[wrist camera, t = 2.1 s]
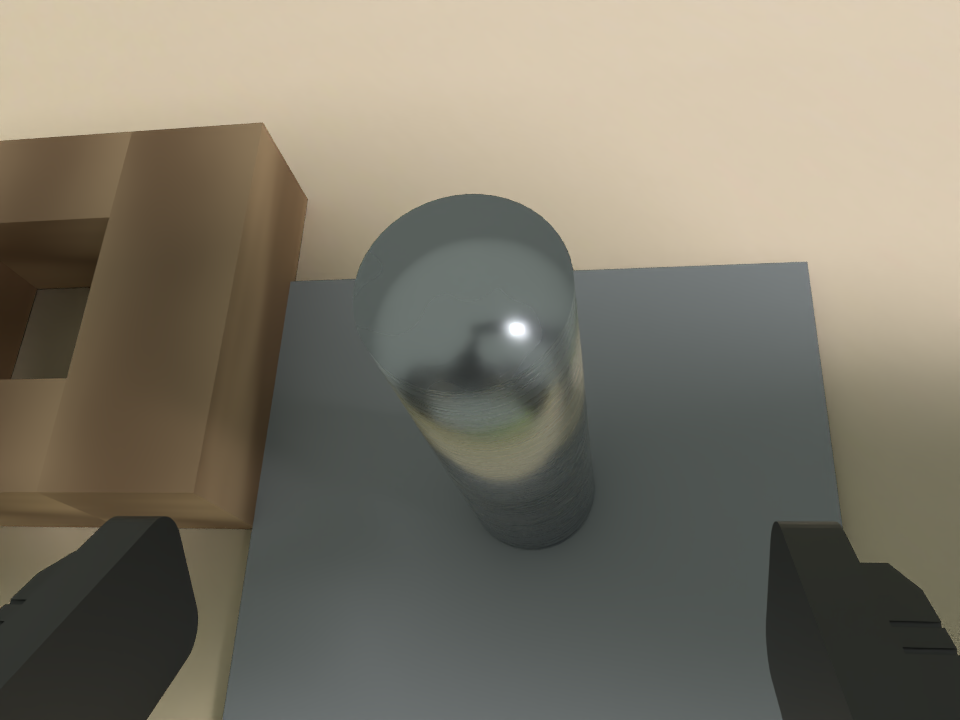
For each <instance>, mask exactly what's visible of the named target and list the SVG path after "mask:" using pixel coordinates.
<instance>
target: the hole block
mask: <svg viewBox="0 0 960 720" xmlns="http://www.w3.org/2000/svg"><path fill="white" fill-rule="evenodd" d="M307 201H308V199H307V197H306V196H305V194H304V192H303V191H302V189H301V187H300V185H299V184H298V182H297V180H296V178H295V177H294V175H293V173H292V172H291V170H290V168H289V166H288V165H287V163H286V161H285V160H284V158H283V156H282V154H281V153H280V151H279V149H278V148H277V146H276V144H275V142H274V141H273V139H272V137H271V136H270V134H269V132H268V130H267V129H266V127H265V125H264V124H263V123H250V124H235V125H221V126H207V127H192V128H178V129H164V130H149V131H135V132H121V133H106V134H92V135H78V136H63V137H49V138H35V139H20V140H6V141H0V526H28V527H101V526H102V525H103V524H104V523H105V522H107V521H108V520H109V519H110V518H112V517H115V516H167V517H170V518H171V519H172V520H174V522H175V523H176V525H177V527H178V528H214V529H252V527H253V520H254V514H255V508H256V501H257V495H258V488H259V482H260V475H261V469H262V463H263V456H264V450H265V443H266V437H267V430H268V424H269V418H270V411H271V405H272V398H273V392H274V385H275V379H276V372H277V366H278V360H279V353H280V347H281V340H282V334H283V327H284V321H285V315H286V308H287V302H288V295H289V289H290V282H291V281H295V279H296V273H297V266H298V260H299V253H300V246H301V240H302V233H303V227H304V220H305V214H306V207H307ZM75 287H91V288H90V292H89V296H88V299H87V303H86V307H85V311H84V314H83V318H82V322H81V326H80V329H79V333H78V337H77V341H76V344H75V348H74V352H73V356H72V360H71V363H70V367H69V371H68V375H67V378H53V379H11V376H12V372H13V369H14V366H15V362H16V359H17V356H18V352H19V349H20V345H21V342H22V339H23V335H24V332H25V328H26V325H27V322H28V318H29V315H30V312H31V308H32V305H33V301H34V298H35V295H36V291H37V289H49V288H75Z"/></svg>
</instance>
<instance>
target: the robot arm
mask: <svg viewBox="0 0 960 720" xmlns="http://www.w3.org/2000/svg"><path fill="white" fill-rule="evenodd" d="M197 626H198V612H197V606H196V602H195V597H194V593H193V589H192V584H191V580H190V576H189V571H188V567H187V563H186V558H185V554H184V550H183V546H182V541H181V537H180V533H179V530H178V527H177V525H176V523H175V522H174V520H172V519H171V518H170V517H167V516H115V517H112V518H110V519H109V520H108V521H107V522H105V523H104V524H103V525H102V526H101V527H100V528H99V529H98V530H97V531H96V532H95V533H94V534H93V535H92V536H91V537H90V538H89V539H88V540H87V541H86V542H85V543H84V544H83V545H82V546H81V547H80V548H79V549H78V550H77V551H74V552H73V553H71V554H69V555H68V556H66V557H64V558H63V559H61V560H59V561H58V562H56V563H54V564H53V565H51V566H49V567H48V568H46V569H44V570H43V571H41V572H39V573H38V574H36V575H35V576H34V577H33V578H32V579H31V580H30V581H29V582H28V583H27V584H26V585H25V586H24V587H23V588H22V589H21V590H20V591H19V592H18V593H17V594H15V595H14V596H13V597H12V598H11V602H10V604H5V605H4V606H3V607H2V608H1V609H0V720H147V718H148V717H149V715H150V714H151V712H152V711H153V709H154V708H155V706H156V705H157V703H158V702H159V700H160V699H161V697H162V696H163V694H164V693H165V691H166V690H167V688H168V687H169V685H170V684H171V682H172V681H173V679H174V678H175V676H176V675H177V673H178V672H179V670H180V669H181V667H182V666H183V664H184V663H185V661H186V660H187V658H188V656H189V655H190V653H191V650H192V648H193V645H194V642H195V638H196V634H197ZM766 646H767V656H768V663H769V669H770V674H771V678H772V682H773V686H774V689H775V693H776V697H777V700H778V704H779V708H780V711H781V715H782V719H783V720H960V655H957V648H956V646H955V645H954V643H953V641H952V640H951V638H950V636H949V634H948V633H947V631H946V629H945V628H942V627H941V621H940V619H939V618H938V616H937V614H936V612H935V611H934V609H933V607H932V606H931V604H930V602H929V601H928V599H927V597H926V596H925V594H924V592H923V590H921V589H920V588H919V587H918V586H916V585H915V584H914V583H913V582H911V581H910V580H909V579H907V578H906V577H905V576H904V575H902V574H901V573H900V572H899V571H897V570H896V569H895V568H893V567H892V566H891V565H890V564H888V563H860V562H859V560H858V558H857V556H856V554H855V552H854V550H853V548H852V546H851V544H850V542H849V540H848V538H847V536H846V534H845V532H844V530H843V528H842V527H841V525H840V524H839V523H838V522H836V521H775V522H774V523H773V526H772V531H771V540H770V558H769V576H768V593H767V611H766Z"/></svg>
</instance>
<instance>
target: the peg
mask: <svg viewBox="0 0 960 720" xmlns="http://www.w3.org/2000/svg"><path fill="white" fill-rule="evenodd" d="M353 313H354V319H355V323H356V327H357V330H358V333H359V335H360V338H361V340H362V342H363V344H364V345H365V347H366V348H367V350H368V352H369V353H370V355H371V356H372V358H373V359H374V361H375V362H376V364H377V365H378V367H379V369H380V370H381V372H382V373H383V375H384V376H385V378H386V379H387V381H388V382H389V384H390V385H391V387H392V388H393V390H394V391H395V393H396V394H397V396H398V397H399V399H400V401H401V402H402V404H403V405H404V407H405V408H406V410H407V411H408V413H409V414H410V416H411V417H412V419H413V420H414V422H415V423H416V425H417V426H418V428H419V430H420V431H421V433H422V434H423V436H424V437H425V439H426V440H427V442H428V443H429V445H430V446H431V448H432V449H433V451H434V452H435V454H436V455H437V457H438V459H439V460H440V462H441V463H442V465H443V466H444V468H445V469H446V471H447V472H448V474H449V475H450V477H451V478H452V480H453V481H454V483H455V484H456V486H457V488H458V489H459V491H460V492H461V494H462V495H463V497H464V498H465V500H466V501H467V503H468V504H469V506H470V507H471V509H472V510H473V512H474V513H475V515H476V517H477V518H478V520H479V521H480V523H481V524H482V526H483V527H484V528H485V529H486V530H487V532H489V533H490V534H491V535H492V536H493V537H494V538H496V539H497V540H498V541H500V542H502V543H504V544H506V545H508V546H511V547H514V548H517V549H522V550H542V549H547V548H550V547H553V546H556V545H558V544H560V543H563V542H564V541H566V540H567V539H569V538H570V537H571V536H573V535H574V534H575V533H576V532H577V531H578V530H579V529H580V528H581V527H582V525H583V524H584V522H585V521H586V519H587V517H588V515H589V513H590V511H591V508H592V505H593V501H594V494H595V484H594V473H593V463H592V453H591V443H590V433H589V423H588V413H587V403H586V393H585V383H584V373H583V363H582V353H581V343H580V333H579V323H578V313H577V303H576V293H575V283H574V273H573V267H572V263H571V259H570V256H569V253H568V251H567V248H566V246H565V244H564V243H563V241H562V239H561V238H560V236H559V235H558V233H557V232H556V231H555V230H554V228H553V227H552V226H551V225H550V224H549V223H548V222H547V221H546V220H545V219H544V218H543V217H541V216H540V215H538V214H537V213H536V212H534V211H533V210H531V209H529V208H528V207H526V206H524V205H522V204H520V203H517V202H514V201H512V200H509V199H506V198H501V197H497V196H492V195H483V194H465V195H455V196H450V197H445V198H441V199H437V200H434V201H431V202H428V203H426V204H424V205H421V206H419V207H417V208H415V209H413V210H411V211H410V212H408V213H406V214H405V215H403V216H401V217H400V218H399V219H398V220H396V221H395V222H394V223H392V224H391V225H390V226H389V227H388V228H387V229H386V230H385V231H384V232H383V233H381V235H380V236H379V237H378V238H377V239H376V241H375V242H374V243H373V244H372V246H371V247H370V249H369V250H368V252H367V253H366V255H365V257H364V259H363V261H362V263H361V265H360V268H359V271H358V274H357V277H356V280H355V285H354V290H353Z"/></svg>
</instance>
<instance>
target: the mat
mask: <svg viewBox="0 0 960 720" xmlns="http://www.w3.org/2000/svg"><path fill="white" fill-rule="evenodd" d="M573 273H574V283H575V293H576V303H577V313H578V323H579V333H580V343H581V353H582V363H583V373H584V383H585V393H586V403H587V413H588V423H589V433H590V443H591V453H592V463H593V473H594V484H595V494H594V501H593V505H592V508H591V511H590V513H589V515H588V517H587V519H586V521H585V522H584V524H583V525H582V527H581V528H580V529H579V530H578V531H577V532H576V533H575V534H574V535H573V536H571V537H570V538H569V539H567V540H566V541H564V542H563V543H560V544H558V545H556V546H553V547H550V548H547V549H542V550H522V549H517V548H514V547H511V546H508V545H506V544H504V543H502V542H500V541H498V540H497V539H496V538H494V537H493V536H492V535H491V534H490V533H489V532H487V530H486V529H485V528H484V527H483V526H482V524H481V523H480V521H479V520H478V518H477V517H476V515H475V513H474V512H473V510H472V509H471V507H470V506H469V504H468V503H467V501H466V500H465V498H464V497H463V495H462V494H461V492H460V491H459V489H458V488H457V486H456V484H455V483H454V481H453V480H452V478H451V477H450V475H449V474H448V472H447V471H446V469H445V468H444V466H443V465H442V463H441V462H440V460H439V459H438V457H437V455H436V454H435V452H434V451H433V449H432V448H431V446H430V445H429V443H428V442H427V440H426V439H425V437H424V436H423V434H422V433H421V431H420V430H419V428H418V426H417V425H416V423H415V422H414V420H413V419H412V417H411V416H410V414H409V413H408V411H407V410H406V408H405V407H404V405H403V404H402V402H401V401H400V399H399V397H398V396H397V394H396V393H395V391H394V390H393V388H392V387H391V385H390V384H389V382H388V381H387V379H386V378H385V376H384V375H383V373H382V372H381V370H380V369H379V367H378V365H377V364H376V362H375V361H374V359H373V358H372V356H371V355H370V353H369V352H368V350H367V348H366V347H365V345H364V344H363V342H362V340H361V338H360V335H359V333H358V330H357V327H356V323H355V319H354V313H353V290H354V285H355V280H356V279H342V280H316V281H291V282H290V289H289V295H288V302H287V308H286V315H285V321H284V327H283V334H282V340H281V347H280V353H279V360H278V366H277V372H276V379H275V385H274V392H273V398H272V405H271V411H270V418H269V424H268V430H267V437H266V443H265V450H264V456H263V463H262V469H261V475H260V482H259V488H258V495H257V501H256V508H255V514H254V520H253V527H252V533H251V540H250V546H249V553H248V559H247V565H246V572H245V578H244V585H243V591H242V598H241V604H240V610H239V617H238V623H237V630H236V636H235V643H234V649H233V656H232V662H231V668H230V675H229V681H228V688H227V694H226V701H225V707H224V713H223V720H783V719H782V715H781V711H780V708H779V704H778V700H777V697H776V693H775V689H774V686H773V682H772V678H771V674H770V669H769V663H768V656H767V646H766V611H767V593H768V576H769V558H770V540H771V531H772V526H773V523H774V522H775V521H836V522H838V523H839V524H840V525H841V527H842V520H841V512H840V505H839V497H838V490H837V482H836V475H835V467H834V460H833V452H832V445H831V437H830V430H829V422H828V415H827V407H826V400H825V392H824V385H823V377H822V370H821V362H820V355H819V347H818V340H817V332H816V325H815V317H814V310H813V302H812V295H811V287H810V280H809V272H808V264H807V262H788V263H762V264H736V265H709V266H683V267H657V268H631V269H604V270H578V271H573ZM842 528H843V527H842Z"/></svg>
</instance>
